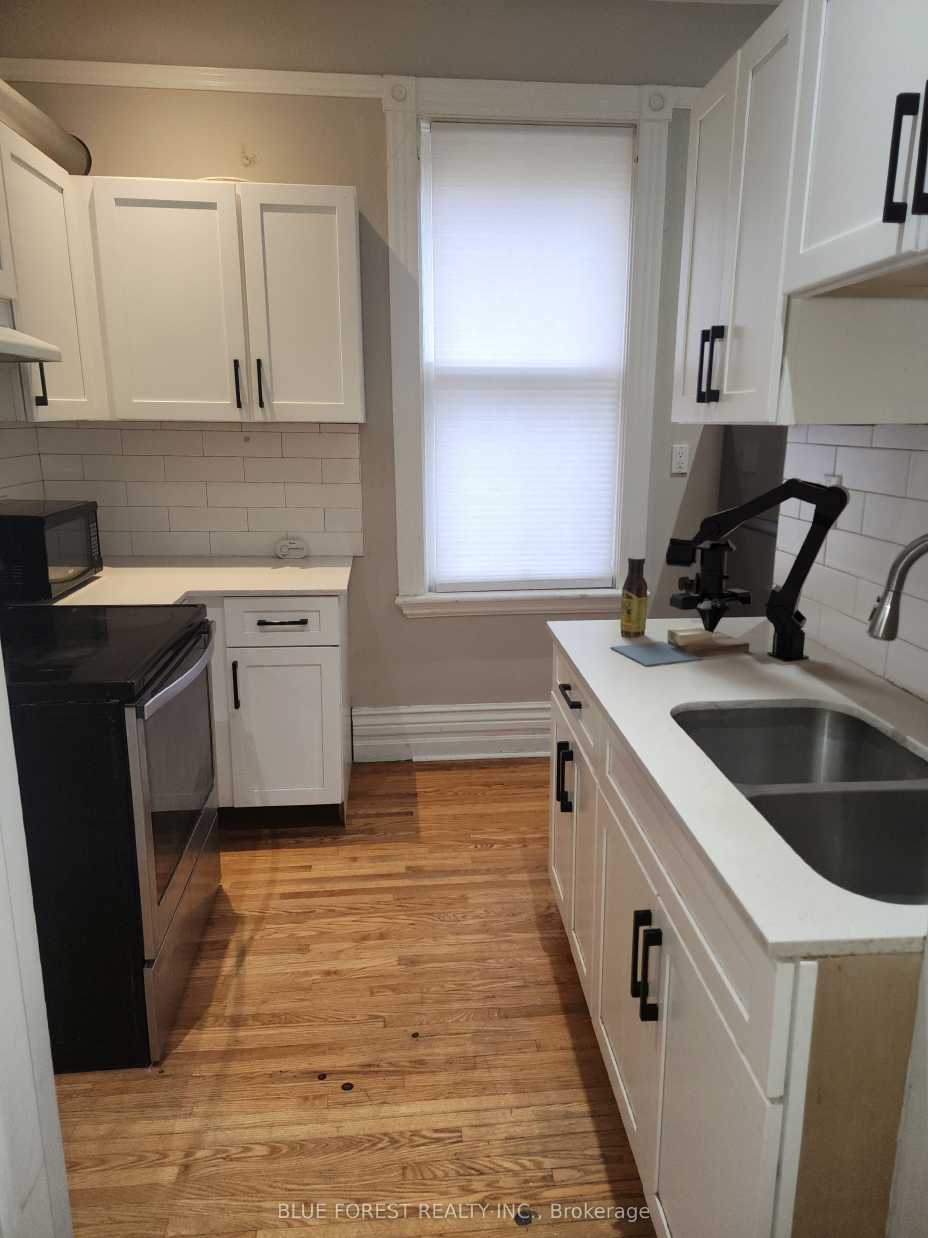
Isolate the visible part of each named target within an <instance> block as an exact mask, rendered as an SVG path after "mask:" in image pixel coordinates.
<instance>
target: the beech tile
mask: <svg viewBox="0 0 928 1238" xmlns="http://www.w3.org/2000/svg"><path fill="white" fill-rule="evenodd" d="M668 640H669V641H671V642H673V643H675V644H677V645H679V646H684V645H696V644H707V643H712V632H709V631H707V630H705V629H704V627H703V628H702V627H700V626H693V627H692V626H691V627H679V628H678V627H677V628H668V629H667V641H668Z"/></svg>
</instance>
